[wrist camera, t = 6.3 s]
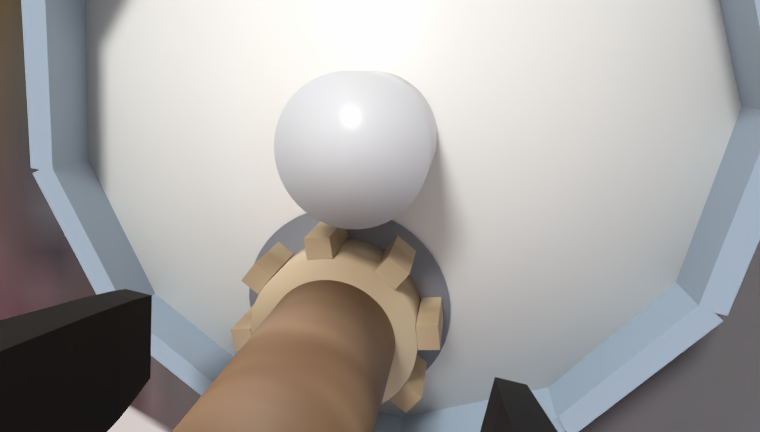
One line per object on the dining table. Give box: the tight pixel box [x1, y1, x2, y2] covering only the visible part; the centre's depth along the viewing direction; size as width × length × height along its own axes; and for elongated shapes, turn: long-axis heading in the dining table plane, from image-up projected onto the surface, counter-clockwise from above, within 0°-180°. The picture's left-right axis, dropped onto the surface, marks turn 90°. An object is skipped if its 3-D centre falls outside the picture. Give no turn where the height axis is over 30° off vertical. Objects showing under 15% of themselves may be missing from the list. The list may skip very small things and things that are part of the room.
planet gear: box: [172, 221, 443, 432], centre depth 10 cm, size 5×5×6 cm
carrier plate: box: [21, 0, 760, 432], centre depth 11 cm, size 17×17×4 cm
